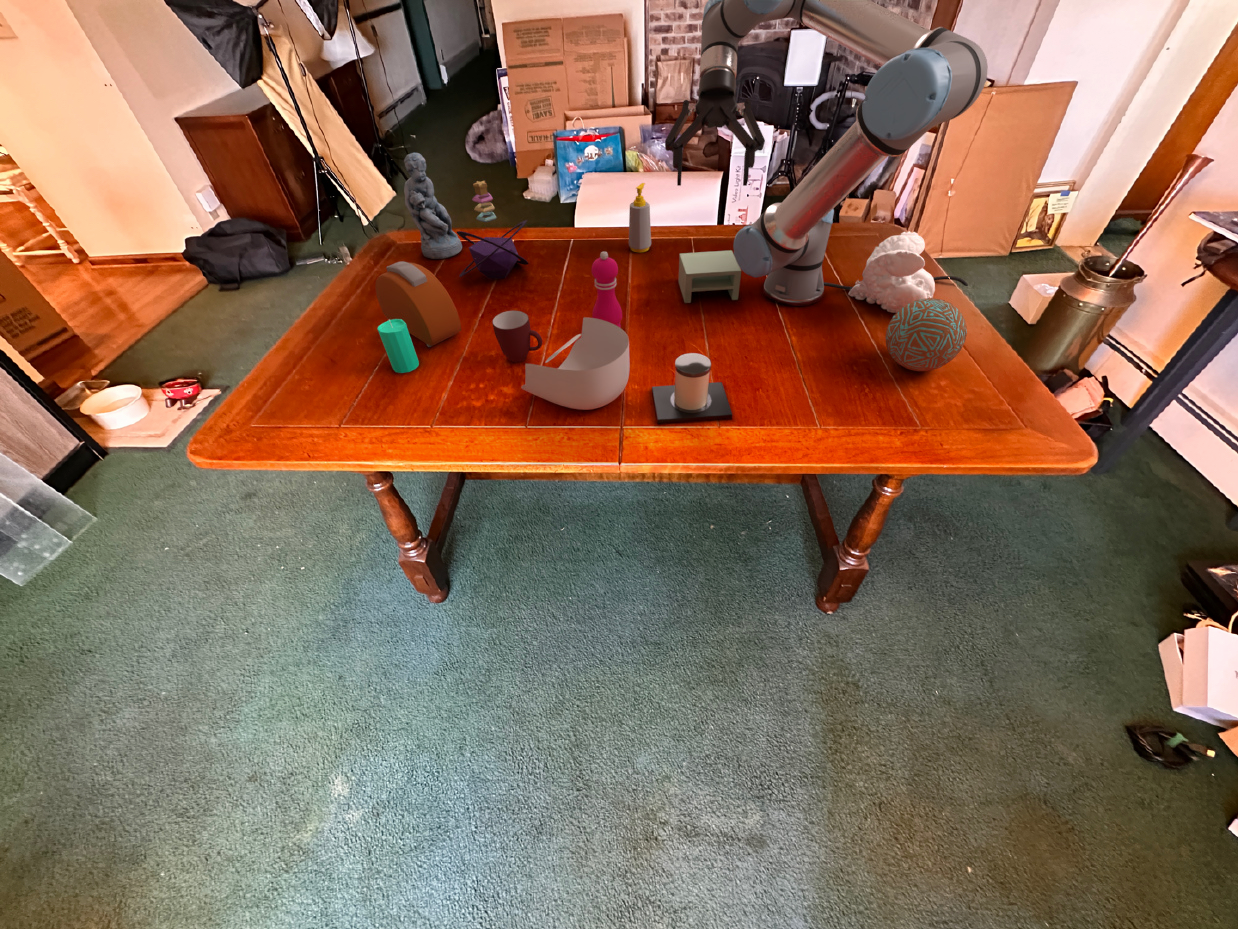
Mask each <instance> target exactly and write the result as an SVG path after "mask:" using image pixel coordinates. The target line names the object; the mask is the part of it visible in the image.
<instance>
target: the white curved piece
mask: <svg viewBox="0 0 1238 929" xmlns="http://www.w3.org/2000/svg"><path fill="white" fill-rule="evenodd" d="M573 343H574V344H573ZM572 344H573V345H572ZM571 345H572V348H571V349H570V352H569V353H568V355H567V356H566V358H565V359H564V360H563V362H562V363H561V364H560V365H559V367H552V366H545V365H540V364H534V363H525V367H524V368H525V372H524V373H525V377H524V378H525V380H524V381H525V384H522V385H521V386H520V388H521V390H523V391H526V392H528V393H530V394H532V395H534V396H535V397H539V398H541V399H543V400H545V401H548V402H550V403H552V404H555V405H558V406H562V407H565V408H569V409H574V410H580V411H581V410H583V411H586V410H595V409H599V408H603V407H604V406H607V405H609V404H610V403H612V402H613V401H615V400H616V399H618V398H619V396H620V395H621V394H622V393H623V392H624V390H625V389H626V386H627V384H628V383H629V382H628V381H629V377H630V366H631V362H630V360H631V359H630V338H629V335H628V334H627V332H626V331H625V330H623V328H622V327H621V328H620V327H618V326H616V325H614V324H612V323H610V322H607V321H604V320H600V319H596V318H593V317H587V316H586V317H585V316H584V317H583V318H582V326H581V333H579V334H575V336H573V337H572V338H571V339H569V340H568V341H567V342H566V343H565V344H564V345H562V346H561V347H560V348H559V349H558V350H556V351H554V353H552V355H550V356H549V357H548V358H547V359H546V360H545V362H544V363H545V364H547V363H549V362H550V361H552V360H553V359H555V357H557V356H558V355H559V354H560V353H561V352H562V351H563V350H565V349H566V348H568V347H569V346H571Z"/></svg>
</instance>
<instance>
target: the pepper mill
mask: <svg viewBox="0 0 1238 929" xmlns="http://www.w3.org/2000/svg"><path fill="white" fill-rule="evenodd" d="M591 274H592V277H593V278H594V288H596V290H597V291H596V292H597V297H596V301H595V304H594V306H593V309H592V316H591V318H596V319H600V320H604V321H607V322H610V323H612V324H614V325H616V326H618V327H620V328H621V329H622V325H621V322H622V319H623V310H622V307H621V304H620V302H619V301H618V299H617V296H616V291H615V290H616V287H617V284H618V283H617V278H616V277H617V276H618V274H619V267H618V264H617V262H616V261H615V259H614V258H612V257H609V253H608V252H607V251H605V250H604V251H601V252H600V254H599V257H598V258H596V259H595V260H594V261H593V263H592V265H591Z"/></svg>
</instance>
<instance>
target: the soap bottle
mask: <svg viewBox="0 0 1238 929" xmlns="http://www.w3.org/2000/svg"><path fill="white" fill-rule="evenodd" d="M645 185H646V182H642V183H640V184H639V185H637V186H636V187H635V190H636V193H637V195H636V196H635V199H634V200H633V201H632V202H631V203H630V204H629V214H628V216H629V217H628V218H629V219H628V220H629V221H628V223H629V224H628V247H629V248H630V250H631V251H632V252H634V253H645V252H647V251H649V250H650V247H651V246H652V229H651V228H652V227H651V211H650V210H651V208H650V203H649V202H648V201H646V199H644V196H643V195H642V193H643V190H644V187H645Z"/></svg>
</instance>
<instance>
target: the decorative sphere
mask: <svg viewBox="0 0 1238 929" xmlns="http://www.w3.org/2000/svg"><path fill="white" fill-rule="evenodd" d="M967 326H968V325H967V322H966V319H965V317H964V315H963V313H962V312H961V310H959V308H958V307H957V306H956V305H954V304H953V303H951V302H949V301H947V300H945V299H941V298H935V297H933V298H925V299H919V300H916V301H913V302H911V303H909V304H907V305H905V306H904V307H902V308H901V309H900V310H899V311H898V312H897V313H894V314H893V316H892V318H891V319H890V320H889V323H888V325H887V328H886V330H885V346H886V349H887V352H888V354H889V356H890V357H891V358H892V359H893V361H894V362H895V363H896V364H898V365H899V366H902V367H903V368H905V369H907V370H910V371H913V372H914V371H915V372H929V371H934V370H937V369H940V368H942V367H943V366H945V365H947V364H949V363H950V362H952V361H953V360H954V359H955V358H956V357H957V356H958V355H959V354H960V352H961V351H962V349H963V347H964V345H965V343H966V339H967V335H968V328H967Z"/></svg>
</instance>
